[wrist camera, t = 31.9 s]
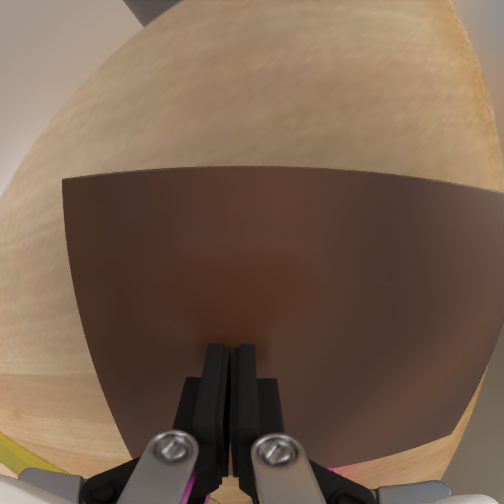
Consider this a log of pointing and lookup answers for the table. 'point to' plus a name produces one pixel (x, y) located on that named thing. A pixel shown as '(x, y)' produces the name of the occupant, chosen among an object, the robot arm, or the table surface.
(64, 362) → the table surface
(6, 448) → the flat olive board
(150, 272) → the lid
